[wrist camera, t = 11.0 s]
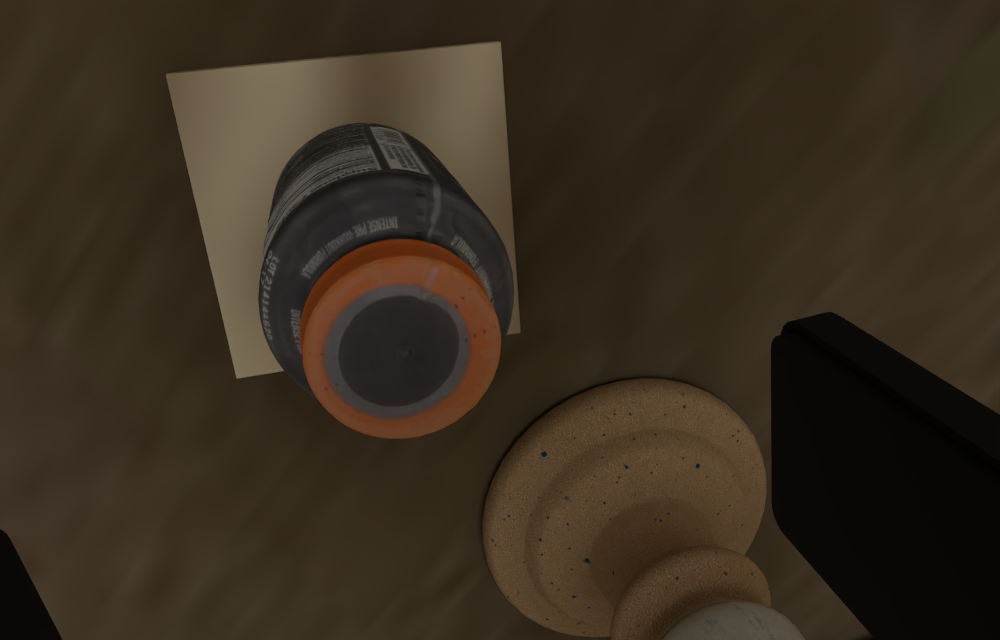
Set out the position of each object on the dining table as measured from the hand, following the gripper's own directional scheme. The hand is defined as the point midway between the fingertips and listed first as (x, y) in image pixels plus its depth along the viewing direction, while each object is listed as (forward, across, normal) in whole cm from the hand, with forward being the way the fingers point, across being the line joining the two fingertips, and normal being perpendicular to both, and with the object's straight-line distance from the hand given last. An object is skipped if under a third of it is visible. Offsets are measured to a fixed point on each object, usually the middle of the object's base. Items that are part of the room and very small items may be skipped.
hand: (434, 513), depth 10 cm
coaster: (+18, 0, +1) cm, 18 cm away
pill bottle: (+18, 0, +1) cm, 18 cm away
